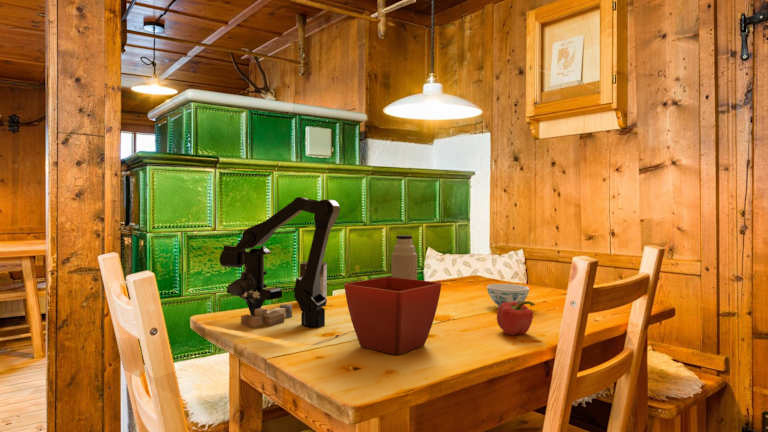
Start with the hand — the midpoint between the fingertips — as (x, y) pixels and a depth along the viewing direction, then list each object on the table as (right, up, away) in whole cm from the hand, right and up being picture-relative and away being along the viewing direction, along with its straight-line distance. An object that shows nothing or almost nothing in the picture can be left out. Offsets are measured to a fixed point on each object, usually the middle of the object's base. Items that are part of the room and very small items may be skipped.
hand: (254, 318), depth 150 cm
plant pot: (+43, -3, -21) cm, 48 cm away
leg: (+6, -1, +3) cm, 6 cm away
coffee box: (+14, -2, +29) cm, 33 cm away
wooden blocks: (+3, -2, -3) cm, 5 cm away
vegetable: (+79, -3, -8) cm, 79 cm away
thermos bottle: (+47, -3, +2) cm, 47 cm away
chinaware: (+86, -2, +27) cm, 90 cm away
